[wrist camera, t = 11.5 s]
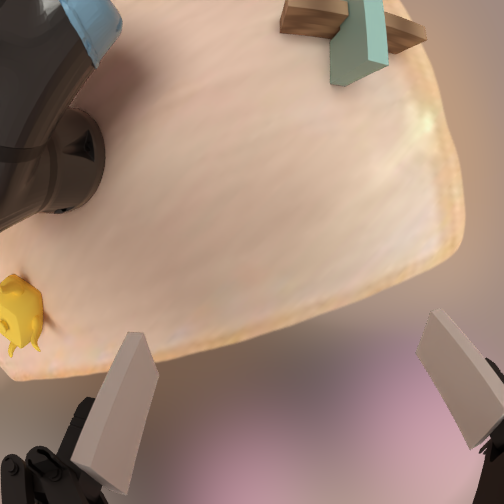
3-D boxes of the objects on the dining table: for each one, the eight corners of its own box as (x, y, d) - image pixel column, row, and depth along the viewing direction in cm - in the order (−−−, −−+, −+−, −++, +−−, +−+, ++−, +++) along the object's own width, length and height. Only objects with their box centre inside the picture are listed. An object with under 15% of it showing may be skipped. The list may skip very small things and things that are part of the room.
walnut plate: (279, 32, 26) (288, 6, 18) (279, 20, 25) (287, -8, 17) (395, 54, 26) (426, 40, 18) (394, 42, 25) (424, 26, 18)
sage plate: (345, 86, 28) (388, 65, 17) (329, 83, 28) (368, 60, 17) (340, -10, 22) (371, -52, 11) (326, -13, 22) (353, -57, 11)
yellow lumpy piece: (26, 260, 37) (-6, 285, 28) (63, 323, 42) (39, 355, 33) (-3, 280, 39) (-29, 303, 30) (30, 334, 44) (8, 360, 35)
